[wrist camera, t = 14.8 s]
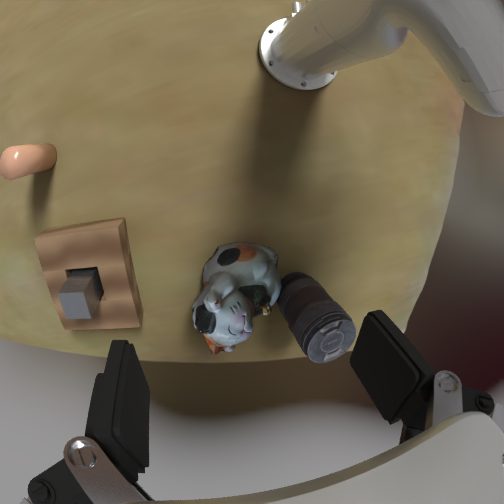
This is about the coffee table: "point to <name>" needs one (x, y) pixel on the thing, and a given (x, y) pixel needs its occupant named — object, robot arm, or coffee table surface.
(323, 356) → the camera lens
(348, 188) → the coffee table surface
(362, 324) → the robot arm
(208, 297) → the lucky cat figurine
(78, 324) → the bore block
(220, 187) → the coffee table surface
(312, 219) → the coffee table surface
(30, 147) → the round bit
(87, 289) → the square bit
